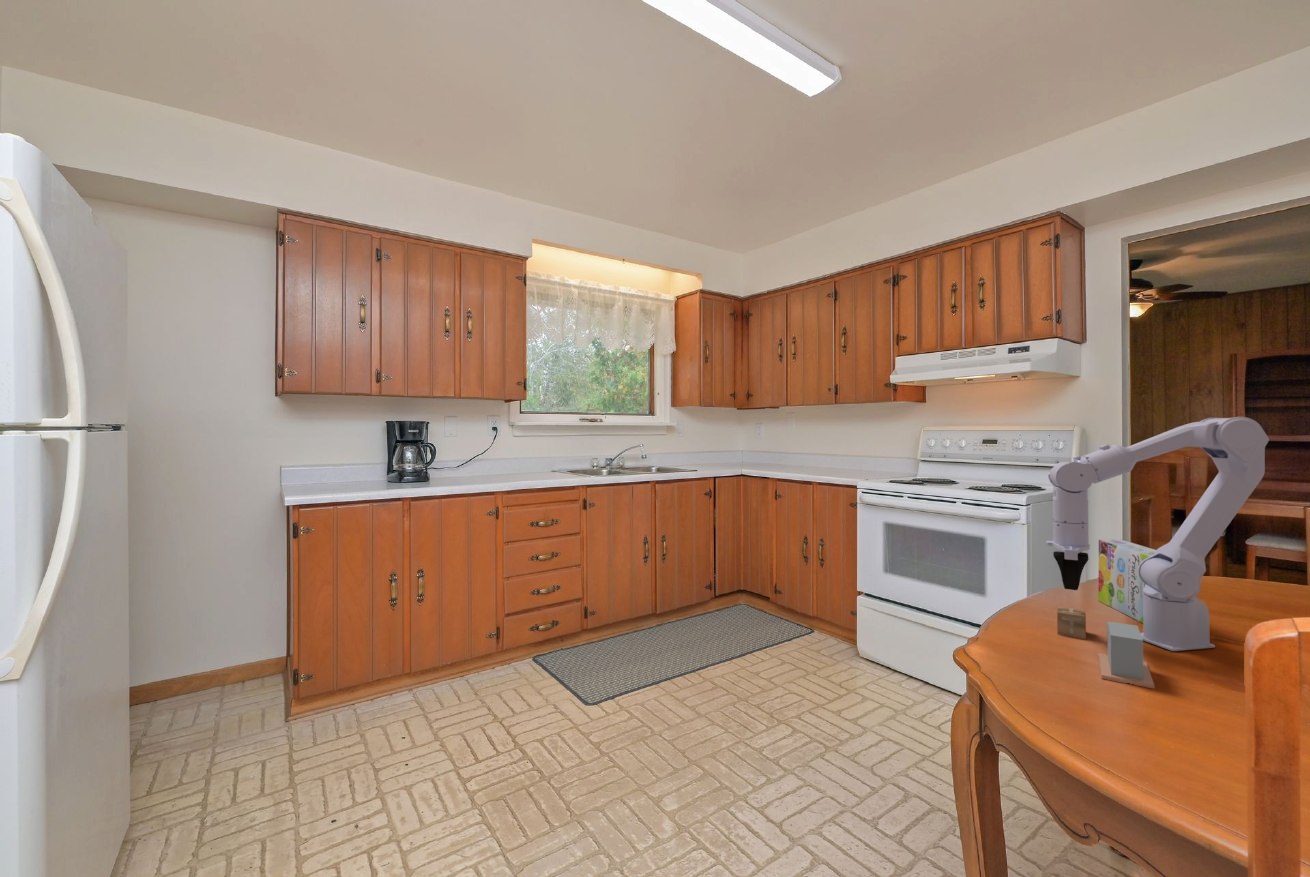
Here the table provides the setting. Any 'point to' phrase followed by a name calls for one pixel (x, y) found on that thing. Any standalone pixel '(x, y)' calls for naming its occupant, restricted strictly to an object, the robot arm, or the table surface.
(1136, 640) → the gray block
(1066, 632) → the letter block
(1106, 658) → the terracotta tile
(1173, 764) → the table surface
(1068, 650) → the table surface
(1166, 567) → the robot arm
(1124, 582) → the snack box
